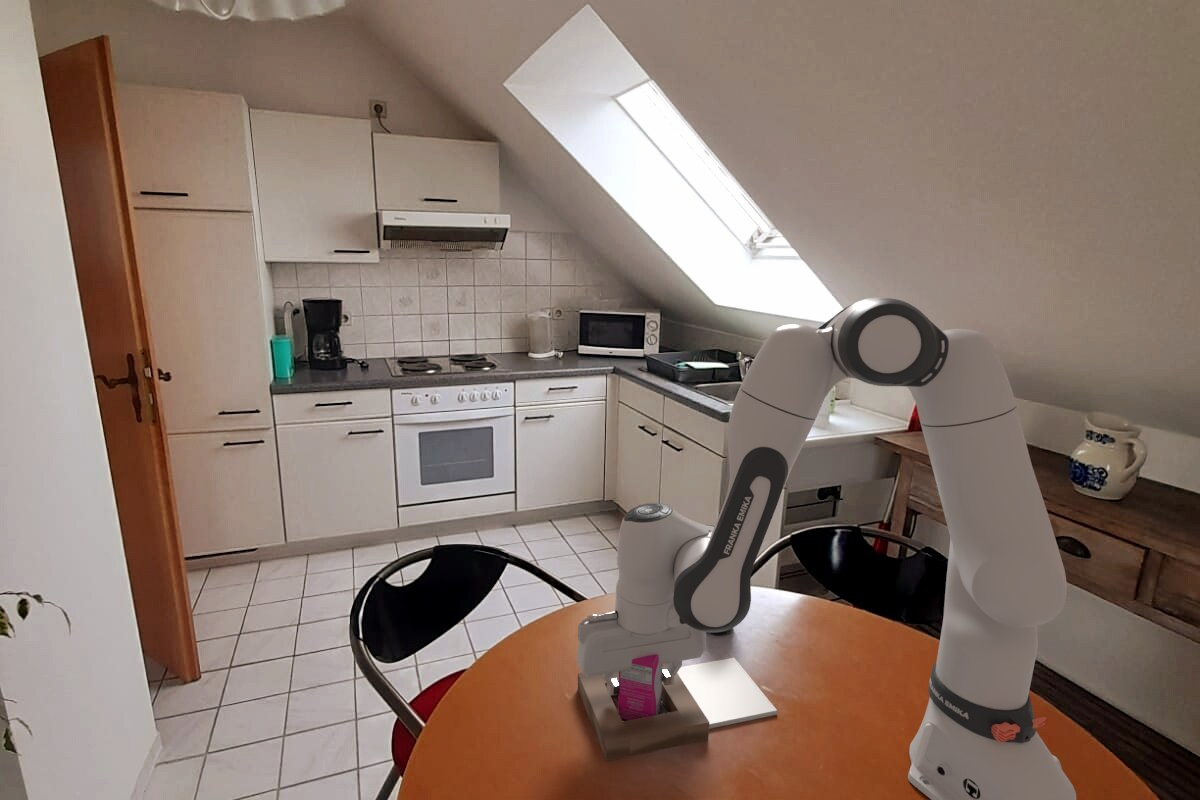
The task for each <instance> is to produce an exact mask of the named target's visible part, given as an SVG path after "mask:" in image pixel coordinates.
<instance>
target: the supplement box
mask: <svg viewBox="0 0 1200 800" xmlns="http://www.w3.org/2000/svg"><path fill="white" fill-rule="evenodd" d="M619 685H620V688H619V697H618V706H617V707H618V709H617V711H618V713H619V715H620V717H621V719H622V722H623V721H628V720H633V719H639V718H644V717H649V716H654V715H659V714H660V712H661V709H662V706H663V705H662V704H663V703H662V664H660V665H659V655H658V654H655V655H650V656H645V657H640V658H635V659H633V660H632V667H631V669H630V670H625V671H620V672H619Z"/></svg>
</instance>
